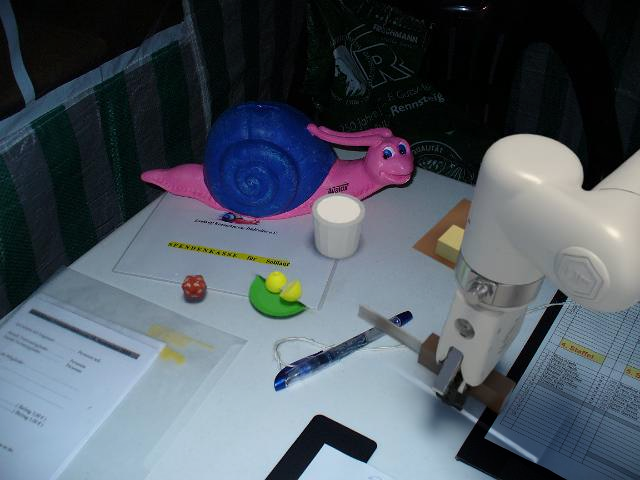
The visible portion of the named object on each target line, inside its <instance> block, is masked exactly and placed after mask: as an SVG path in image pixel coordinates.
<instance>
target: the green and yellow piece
mask: <svg viewBox="0 0 640 480" xmlns="http://www.w3.org/2000/svg"><path fill="white" fill-rule="evenodd" d="M283 287H284V288H283ZM282 288H283V289H282ZM248 289H249V290H248V291H249V292H248V295H249V296H248V297H249V300H250V302H251V304H252V305H253V306H254V307H255V308H256V309H257V310H258V311H260V312H262V313H263V314H266V315H270V316H274V317H275V316H276V317H287V316H292V315H294V314H297V313H299V312H302V311H303V310H304V309H305V308H307V307H308V306H307V305H306V304H304V303H303V302H301V301H300V300H299V299H300V298H301V296H302V293H303V290H302V289H303V288H302V285H301V283H300V282H299V280H298V279H294V280H292V281H291V282H289V283H288V278H287V276H286V274H284V272H281V271H279V270H276V271H272V272H270V273H269V274H268V275H267V277H266V278H265V277H263V276H261V275H260V274H259V275H257V276H256V277H255V278H254V279H253V281H252V282H251V284H250V285H249V288H248Z"/></svg>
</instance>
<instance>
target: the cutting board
mask: <svg viewBox="0 0 640 480" xmlns="http://www.w3.org/2000/svg"><path fill="white" fill-rule="evenodd" d="M471 202H472V200H470V199H467V198H465V197H463V198H462V199H461V200H460V201H459V202H458V203H457V204H456V205H455V206H454V207H453V208H452V209H451V210H450V211H448V212H447V213H446V214H445V215H443V217H442V218H441V219H440V220H439V221H438V222H437V223H436V224H434V226H433V227H432V228H430V229H429V230H428V231H427V232H426V233H425V234H424V235H423V236H421V238H420V239H419V240H418V241H417V242H415V243H414V244H413V245H412V246H411V248H413V250H415V251H418V252H419V253H422V254H423V255H425V256H426V257H429V258H431V259H433V260H435V261H437V262H438V263H440V264H442V265H444V266H446V267H448V268H449V269H451V270H452V271H454V270H455V266H456V264H455V263H453V262H451V261H449V260H447V259H445V258H443V257H441V256H440V255H438V254H436V253H435V251H436V246H437V242H438V239H439V238H440V237H441V236H442V235H443V234H444V233H445V232H446V231H447V230H448V229H449V228H450V227H451V226H452V225H456V226H458V227H460V228H462V229H464V230H465V226H466V222H467V218H468V214H469V210H470V206H471Z"/></svg>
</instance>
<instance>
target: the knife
mask: <svg viewBox="0 0 640 480" xmlns="http://www.w3.org/2000/svg"><path fill="white" fill-rule="evenodd" d="M358 317H360V318H361V319H363V320H364V321H366V322H368V323H369V324H371V325H372V326H373V327H375V328H377V329H378V330H380V331H382V332H383V333H385V334H387V336H388V335H389V337H391V338H393V339H394V340H396V341H398V342H399V343H401V344H402V345H404V346H406V347H407V348H409V349H410V350H412V351H414V353H417V354H418V356H417V363H418V364H420V366H422V367H424V368H425V369H427V370H429V371H430V372H432V373H433V374H434V375H436V376H438V375H439V373H440V371H441V369H442V367H443V365H444V363H445V361H444V362H443V364H441V363H440V364H439V365H438V364H437V361H436V352H437V347H438V343H439V339H440V336H441V335H438V334H437V333H435V332H433V331H432V332H431V333H430V334H429V335H428V336H427V338H426V339H425V340H424V341H423V340H422V339H420V338H418V337H417V336H416V335H413V334H412V333H410V332H409V331H407V330H405V329H404V328H402V327H400V326H399V325H397V324H396V323H394V322H393V321H391V320H389V319H388V318H387V317H385V316H383V315H382V314H380V313H378V312H376V311H375V310H374V309H372V308H370V307H369V306H367V305H365V304H364V303H362V302H360V303H359V306H358ZM456 375H457V376H459V377H460V378H463V376H462V373H461V372H460V371H458V372H457V374H456ZM516 383H517V382H516V381H514V380H513V379H511V378H509V377H507V376H506V375H504V374H502V373H501V372H499V371H497V370H496V369H495V368H493V370H492V371H491V372H490V373H489V375H488V376H487V377H486V379H485V380H484V381H483V382H482V383H481V384H480V385H478V386H471V385H469V384H468V386H469V387H470V391H469V394H468V397H471V398H472V399H473V400H475V401H477V402H478V403H480V404H481V405H483V406H485V407H486V408H487V409H489V410H491V411H492V412H493V413H495V414H497V415H500V414H501V412H502V410H503V409H504V407H505V406H506V405H507V403H508V401H510V398H511V396H512V393H513V391H514V389H515V386H516Z"/></svg>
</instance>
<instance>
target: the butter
mask: <svg viewBox="0 0 640 480" xmlns="http://www.w3.org/2000/svg"><path fill="white" fill-rule="evenodd" d="M464 231H465V230H464V229H462V228H460V227H458V226H456V225H452V226H451V227H450V228H449V229H448V230H447V231H446V232H445V233H444V234H443V235H442V236H441V237H440V238H439V239H438V242H437V246H436V251H435V253H436V254H438V255H440V256H441V257H443V258H445V259H447V260H449V261H451V262H453V263H455V264H456V262H457V258H458V254H459V250H460V246H461V243H462V239H463V235H464Z"/></svg>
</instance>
